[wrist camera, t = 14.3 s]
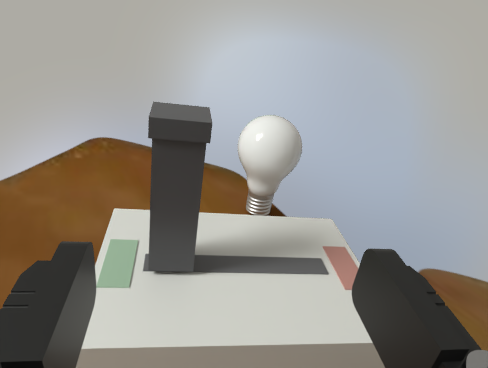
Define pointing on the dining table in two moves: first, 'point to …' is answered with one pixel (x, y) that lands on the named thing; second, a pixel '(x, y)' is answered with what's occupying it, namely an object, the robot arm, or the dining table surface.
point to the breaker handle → (176, 183)
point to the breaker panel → (228, 298)
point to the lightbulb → (267, 158)
